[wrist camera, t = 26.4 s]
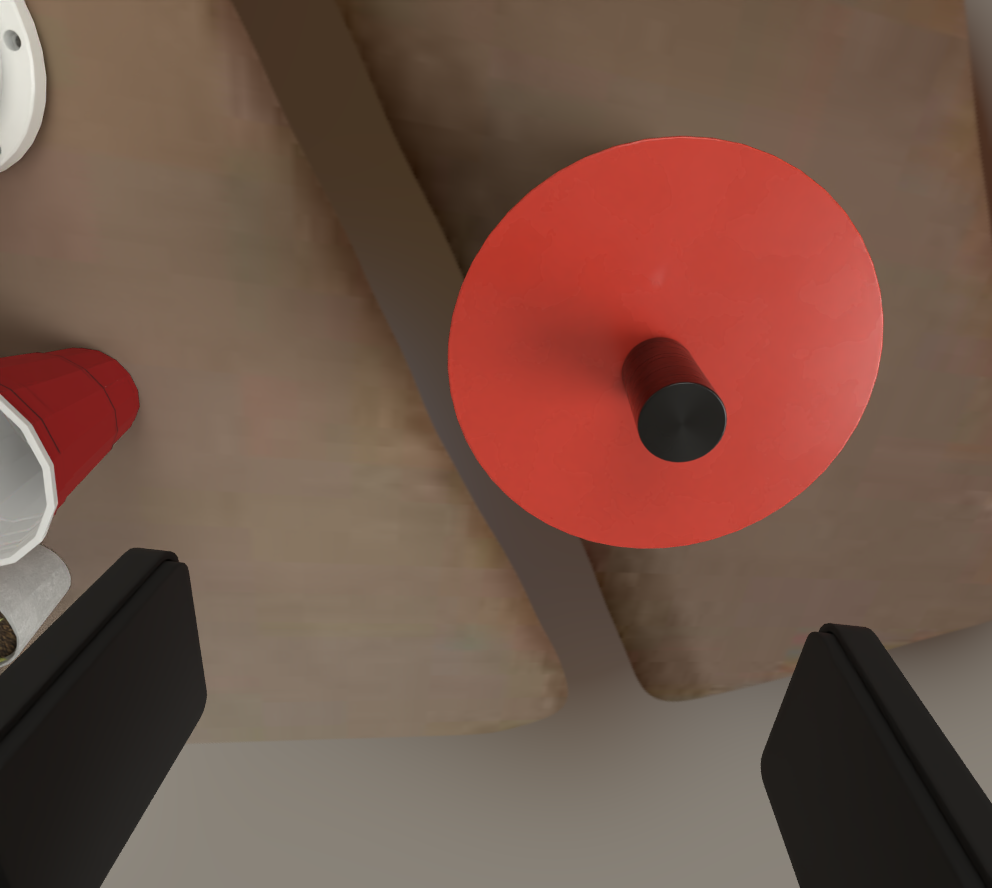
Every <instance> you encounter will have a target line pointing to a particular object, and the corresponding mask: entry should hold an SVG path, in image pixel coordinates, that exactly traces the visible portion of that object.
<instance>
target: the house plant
mask: <svg viewBox="0 0 992 888" xmlns="http://www.w3.org/2000/svg"><path fill="white" fill-rule="evenodd" d="M70 585H71V577H70V573H69V570H68V568H67V567H66V565H65V563H64V562H63V561H62V560H61V558H60V557H59V556H58V555H56V554H55V553H54V552H53V551H51V550H50V549H48V548H46V547H44V546H42V545H40V544H38V545H37V546H35V547H34V548H33V549H32V550H30V551H29V552H28V553H27V554H25V555H24V556H23V557H22V558H20V559H19V560H18V561H17V562H16V563H12V564H8V565H3V566H0V667H3V666H5V665H7V664H9V663H11V662H12V661H13V660H14V659H15V658H16V657H17V656H18V655H19V654H20V652H21V651H22V650H23V648H24V647H25V646H26V645H27V643H28V642H29V641H30V639H31V638H32V637H33V635H34V634H35V633H36V632H37V630H38V629H39V628H40V626H41V625H42V624H43V622H44V621H45V620H46V619H47V617H48V616H49V615H50V613H51V612H52V611H53V609H54V608H55V607H56V606H57V604H58V603H59V602H60V600H61V599H62V598H63V596H64V595H65V594H66V593H67V591H68V589H69V587H70Z"/></svg>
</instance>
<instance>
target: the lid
mask: <svg viewBox="0 0 992 888" xmlns="http://www.w3.org/2000/svg"><path fill="white" fill-rule="evenodd" d="M882 345H883V310H882V301H881V292H880V287H879V283H878V280H877V276H876V272H875V269H874V265H873V262H872V259H871V257H870V255H869V253H868V250H867V248H866V246H865V244H864V241H863V239H862V237H861V235H860V234H859V232H858V231H857V229H856V228H855V226H854V224H853V223H852V221H851V220H850V218H849V217H848V215H847V214H846V212H845V211H844V210H843V209H842V208H841V207H840V205H839V204H838V203H837V202H836V201H835V200H834V199H833V198H832V197H831V196H830V195H829V193H828V192H827V191H826V190H825V189H824V188H822V187H821V186H820V185H819V184H817V183H816V182H815V181H814V180H812V179H811V178H810V177H809V176H807V175H806V174H805V173H803V172H802V171H801V170H799V169H797V168H796V167H794V166H792V165H790V164H788V163H787V162H785V161H783V160H781V159H780V158H778V157H776V156H774V155H772V154H769V153H766V152H764V151H761V150H758V149H755V148H753V147H750V146H747V145H745V144H740V143H735V142H731V141H726V140H721V139H716V138H708V137H691V136H673V137H661V138H649V139H643V140H639V141H634V142H630V143H625V144H621V145H617V146H613V147H610V148H608V149H605V150H602V151H600V152H597V153H594V154H592V155H589V156H586V157H584V158H582V159H580V160H578V161H576V162H574V163H573V164H571V165H569V166H567V167H565V168H563V169H561V170H560V171H558V172H556V173H554V174H553V175H552V176H550V177H549V178H548V179H546V180H545V181H543V182H542V183H541V184H539V185H538V186H536V187H535V188H534V189H532V190H531V191H530V192H529V193H528V194H527V195H525V196H524V197H523V198H522V199H521V200H520V201H519V202H518V203H517V204H516V205H515V206H514V207H513V208H512V209H511V210H509V211H508V213H507V214H506V215H505V216H504V217H503V219H502V220H501V221H500V222H499V224H498V225H497V226H496V227H495V228H494V230H493V231H492V232H491V233H490V235H489V236H488V237H487V239H486V240H485V242H484V244H483V245H482V247H481V249H480V250H479V252H478V253H477V255H476V257H475V258H474V260H473V261H472V264H471V266H470V268H469V270H468V272H467V275H466V277H465V279H464V281H463V283H462V286H461V288H460V291H459V295H458V298H457V301H456V305H455V308H454V311H453V315H452V321H451V328H450V333H449V340H448V375H449V384H450V393H451V397H452V401H453V405H454V409H455V413H456V417H457V419H458V422H459V424H460V427H461V429H462V432H463V434H464V437H465V439H466V441H467V443H468V445H469V447H470V448H471V450H472V452H473V453H474V455H475V457H476V459H477V461H478V462H479V463H480V465H481V466H482V467H483V469H484V470H485V471H486V473H487V474H488V475H489V477H490V478H491V479H492V480H493V482H494V483H495V484H496V485H497V486H498V487H499V488H500V489H501V490H502V491H503V492H504V493H505V494H506V495H507V496H508V497H510V499H512V500H513V501H514V502H515V503H517V504H518V505H519V506H521V507H522V508H523V509H524V510H526V511H527V512H528V513H530V514H532V515H533V516H535V517H537V518H538V519H540V520H541V521H543V522H545V523H546V524H548V525H550V526H552V527H555V528H557V529H559V530H561V531H563V532H566V533H568V534H570V535H574V536H577V537H580V538H583V539H586V540H589V541H592V542H597V543H602V544H607V545H612V546H618V547H629V548H668V547H676V546H684V545H691V544H695V543H699V542H704V541H708V540H712V539H716V538H718V537H721V536H724V535H727V534H730V533H733V532H736V531H738V530H740V529H743V528H745V527H747V526H749V525H751V524H753V523H755V522H757V521H759V520H762V519H763V518H765V517H767V516H768V515H770V514H771V513H773V512H775V511H776V510H778V509H780V508H781V507H783V506H784V505H786V504H787V503H788V502H790V501H791V500H792V499H794V498H795V497H796V496H797V495H799V494H800V493H801V492H803V491H804V490H805V489H806V488H807V487H808V486H809V485H810V484H811V483H812V482H813V481H814V480H816V479H817V478H818V477H819V476H820V475H821V474H822V473H823V472H824V471H825V470H826V468H827V467H828V466H829V465H830V464H831V462H832V461H833V460H834V459H835V457H836V456H837V455H838V454H839V453H840V451H841V450H842V449H843V447H844V446H845V444H846V443H847V441H848V439H849V438H850V436H851V435H852V433H853V432H854V430H855V428H856V427H857V425H858V423H859V421H860V419H861V417H862V414H863V412H864V410H865V408H866V406H867V404H868V402H869V399H870V396H871V393H872V390H873V387H874V384H875V381H876V377H877V374H878V369H879V363H880V358H881V352H882Z"/></svg>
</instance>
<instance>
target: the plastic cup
mask: <svg viewBox="0 0 992 888" xmlns="http://www.w3.org/2000/svg"><path fill="white" fill-rule="evenodd" d="M138 409H139V397H138V390H137V388H136V386H135V384H134V382H133V380H132V378H131V376H130V374H129V373H128V372H127V371H126V370H125V369H124V368H123V367H122V366H121V365H120V364H119V363H118V362H117V361H116V360H115V359H113V358H111V357H109V356H107V355H106V354H104V353H102V352H100V351H97V350H91V349H85V348H68V349H63V350H57V351H52V352H46V353H40V352H36V353H29V354H23V355H16V356H9V357H3V358H0V566H3V565H8V564H12V563H16V562H17V561H18V560H19V559H20V558H22V557H23V556H24V555H25V554H27V553H28V552H29V551H30V550H32V549H33V548H34V547H35V546H37V545H38V544H39V543H40V542H42V541H43V539H44V538H45V536H46V534H47V531H48V529H49V526H50V523H51V521H52V518H53V516H54V515H55V514H56V511H57V509H58V508H59V507H60V506H61V505H62V504H63V503H64V502H65V499H66V497H67V496H68V495H69V494H70V493H71V492H72V491H73V490H74V489H75V487H76V486H77V485H78V484H79V483H80V482H81V481H82V480H83V479H84V478H85V477H86V476H87V475H88V474H89V472H90V471H91V470H92V469H93V468H94V467H95V466H96V465H97V464H98V463H99V462H100V461H101V460H102V459H103V458H104V456H105V455H106V454H107V453H108V452H109V451H110V450H111V449H112V446H113V444H114V443H115V442H116V441H117V440H118V439H119V438H120V437H121V436H122V435H123V434H124V433H125V432H126V431H127V430H128V429H129V428H130V427H131V425H132V422H133V421H134V420H135V417H136V415H137V412H138Z"/></svg>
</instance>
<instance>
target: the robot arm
mask: <svg viewBox="0 0 992 888" xmlns="http://www.w3.org/2000/svg"><path fill="white" fill-rule="evenodd" d="M45 104H46V71H45V64H44V58H43V51H42V47H41V44H40V41H39V37H38V34H37V31H36V27H35V24H34V21H33V19H32V17H31V15H30V12H29V10H28V8H27V6H26V4H25V2H24V0H0V172H2V171H5V170H6V169H8V168H9V167H11V166H12V165H13V164H15V163H16V162H17V161H19V160H20V159H21V158H22V157H23V155H24V154H25V153H26V152H27V150H28V149H29V148H30V146H31V145H32V144H33V142H34V140H35V137H36V135H37V133H38V131H39V128H40V126H41V123H42V119H43V114H44V109H45ZM206 698H207V690H206V684H205V677H204V670H203V664H202V657H201V650H200V643H199V637H198V630H197V623H196V617H195V610H194V603H193V597H192V590H191V583H190V576H189V570H188V567H187V565H186V564H185V563H181V562H179V560H178V557H177V556H176V554H175V553H173V552H171V551H162V550H153V549H144V548H132V549H130V550H128V551H127V552H125V553H124V554H123V555H122V556H121V557H120V558H119V559H118V560H117V561H116V562H115V563H114V564H113V565H112V566H111V567H110V568H109V569H108V570H107V571H106V572H105V573H104V574H103V575H102V576H101V577H100V578H99V579H98V580H97V581H96V582H95V583H94V584H93V585H92V586H91V587H90V588H89V589H88V590H87V591H86V592H85V593H84V594H83V595H82V596H81V597H79V598H78V599H77V600H76V601H75V602H74V603H73V604H72V605H71V606H70V607H69V608H68V609H67V610H66V611H65V612H64V613H63V614H62V615H61V616H60V617H59V618H58V619H57V620H56V621H55V622H54V623H53V624H52V625H51V626H50V627H49V628H48V629H47V630H46V631H45V632H44V633H43V634H42V635H41V636H40V637H39V638H38V639H37V640H36V641H35V642H34V643H33V644H32V645H31V646H30V647H29V648H28V649H26V650H25V651H24V652H23V653H22V654H21V655H20V656H19V657H18V658H17V659H16V660H15V661H14V662H13V663H12V664H11V665H10V666H9V667H8V668H7V669H6V670H5V671H4V672H3V673H2V674H1V675H0V888H100V886H101V885H102V883H103V881H104V879H105V878H106V876H107V874H108V873H109V871H110V869H111V868H112V866H113V864H114V863H115V861H116V859H117V857H118V856H119V854H120V853H121V851H122V849H123V847H124V846H125V844H126V842H127V841H128V839H129V837H130V835H131V834H132V832H133V831H134V829H135V827H136V825H137V824H138V822H139V820H140V819H141V817H142V815H143V813H144V812H145V810H146V809H147V807H148V805H149V804H150V802H151V800H152V799H153V797H154V795H155V794H156V792H157V790H158V788H159V787H160V785H161V783H162V782H163V780H164V778H165V777H166V775H167V773H168V772H169V770H170V768H171V766H172V765H173V763H174V761H175V760H176V758H177V756H178V755H179V753H180V751H181V750H182V748H183V746H184V745H185V743H186V741H187V740H188V738H189V736H190V735H191V733H192V731H193V729H194V728H195V726H196V724H197V723H198V721H199V719H200V717H201V715H202V713H203V711H204V708H205V704H206ZM761 774H762V780H763V783H764V786H765V789H766V792H767V795H768V798H769V800H770V803H771V806H772V809H773V812H774V815H775V818H776V820H777V823H778V826H779V829H780V832H781V834H782V837H783V840H784V843H785V846H786V849H787V852H788V854H789V857H790V860H791V863H792V866H793V869H794V871H795V875H796V877H797V880H798V883H799V886H800V888H992V803H991V802H990V800H989V799H988V798H987V796H986V795H985V793H984V792H983V790H982V789H981V787H980V786H979V784H978V783H977V781H976V780H975V779H974V777H973V776H972V774H971V773H970V771H969V770H968V768H967V767H966V765H965V764H964V763H963V761H962V760H961V758H960V757H959V755H958V754H957V752H956V751H955V749H954V748H953V746H952V745H951V744H950V742H949V741H948V739H947V738H946V736H945V735H944V734H943V732H942V731H941V729H940V728H939V726H938V725H937V723H936V722H935V720H934V719H933V717H932V716H931V714H929V712H928V710H927V709H926V708H925V706H924V704H923V703H922V701H921V700H920V699H919V697H918V696H917V694H916V693H915V691H914V690H913V689H912V687H911V685H910V684H909V683H908V681H907V680H906V678H905V677H904V675H903V674H902V672H901V671H900V669H899V668H898V666H897V665H896V664H895V662H894V661H893V659H892V658H891V656H890V655H889V653H888V652H887V650H886V649H885V648H884V646H883V645H882V643H881V642H880V640H879V639H878V637H877V636H876V635H875V633H874V632H873V631H872V630H871V629H869V628H866V627H859V626H850V625H841V624H832V623H828V624H824V625H823V626H822V627H821V628H820V630H819V632H811V633H810V634H809V635H808V637H807V639H806V642H805V644H804V647H803V649H802V652H801V655H800V657H799V660H798V663H797V665H796V668H795V670H794V673H793V676H792V678H791V681H790V683H789V686H788V689H787V691H786V694H785V696H784V699H783V702H782V704H781V707H780V709H779V712H778V715H777V717H776V720H775V722H774V725H773V728H772V730H771V733H770V736H769V738H768V741H767V744H766V746H765V749H764V751H763V754H762V758H761Z"/></svg>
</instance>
